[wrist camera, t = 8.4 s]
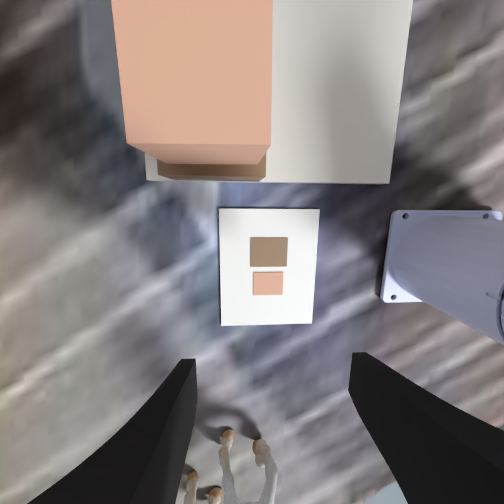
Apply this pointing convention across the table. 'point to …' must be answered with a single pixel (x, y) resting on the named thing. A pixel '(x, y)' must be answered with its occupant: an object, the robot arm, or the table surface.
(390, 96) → the base plate
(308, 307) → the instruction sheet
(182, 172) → the walnut block
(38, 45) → the table surface
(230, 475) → the unicorn figurine
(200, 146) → the terracotta block
